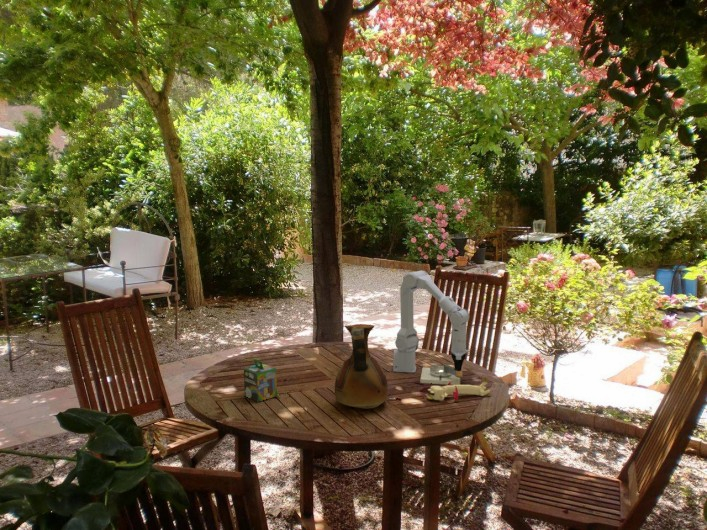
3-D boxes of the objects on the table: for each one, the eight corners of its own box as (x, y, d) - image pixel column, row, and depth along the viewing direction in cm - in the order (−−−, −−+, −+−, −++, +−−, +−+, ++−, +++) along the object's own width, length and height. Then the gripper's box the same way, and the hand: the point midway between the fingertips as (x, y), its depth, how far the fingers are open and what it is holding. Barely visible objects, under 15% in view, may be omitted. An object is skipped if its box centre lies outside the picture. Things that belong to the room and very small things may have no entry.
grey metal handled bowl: (425, 372, 255) (426, 361, 254) (442, 369, 259) (443, 358, 258) (451, 384, 239) (452, 373, 239) (469, 381, 244) (470, 370, 243)
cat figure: (480, 393, 239) (421, 393, 232) (483, 372, 238) (423, 371, 231) (492, 402, 229) (431, 403, 223) (495, 380, 228) (433, 380, 222)
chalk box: (277, 397, 230) (277, 359, 228) (257, 403, 224) (257, 364, 222) (263, 390, 237) (262, 354, 235) (243, 396, 230) (242, 359, 228)
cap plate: (420, 382, 247) (420, 379, 246) (422, 370, 262) (422, 367, 262) (460, 385, 244) (460, 381, 244) (460, 372, 260) (460, 369, 259)
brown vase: (385, 394, 233) (386, 318, 229) (390, 414, 213) (391, 332, 209) (334, 395, 232) (334, 319, 228) (334, 415, 212) (334, 332, 208)
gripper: (469, 344, 237) (468, 378, 239) (468, 335, 251) (467, 366, 253) (451, 343, 238) (450, 377, 240) (451, 334, 252) (450, 365, 254)
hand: (458, 371), depth 246 cm, fingers closed
